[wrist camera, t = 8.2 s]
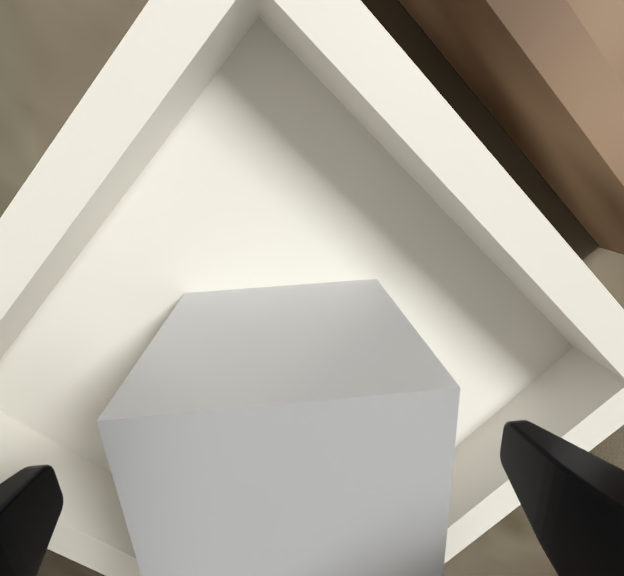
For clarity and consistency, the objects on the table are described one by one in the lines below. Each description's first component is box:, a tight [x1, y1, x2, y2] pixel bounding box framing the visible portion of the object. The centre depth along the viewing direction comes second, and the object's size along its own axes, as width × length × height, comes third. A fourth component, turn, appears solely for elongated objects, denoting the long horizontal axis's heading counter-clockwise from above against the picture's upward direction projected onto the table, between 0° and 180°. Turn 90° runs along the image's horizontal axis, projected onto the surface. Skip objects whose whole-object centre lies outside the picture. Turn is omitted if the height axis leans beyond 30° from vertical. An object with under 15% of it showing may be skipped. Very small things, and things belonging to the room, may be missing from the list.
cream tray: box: [0, 0, 624, 576], centre depth 10 cm, size 14×14×2 cm
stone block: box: [96, 279, 460, 576], centre depth 8 cm, size 5×5×5 cm
